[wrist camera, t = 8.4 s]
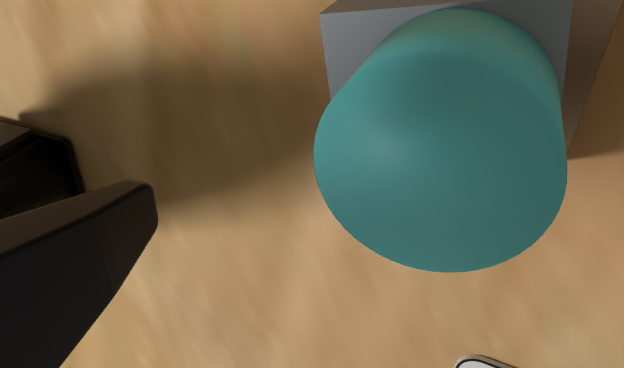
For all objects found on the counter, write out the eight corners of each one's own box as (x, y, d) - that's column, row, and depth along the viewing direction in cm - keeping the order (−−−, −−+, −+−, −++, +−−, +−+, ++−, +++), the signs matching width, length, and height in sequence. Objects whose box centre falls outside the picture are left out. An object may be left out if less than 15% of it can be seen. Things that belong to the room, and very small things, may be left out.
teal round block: (536, 202, 15) (536, 294, 12) (358, 174, 16) (317, 247, 13) (582, 12, 12) (601, 65, 9) (361, 3, 14) (308, 44, 10)
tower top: (546, 170, 17) (549, 218, 15) (367, 163, 20) (345, 203, 17) (566, -29, 14) (573, -7, 12) (348, -8, 16) (318, 14, 14)
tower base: (548, 156, 20) (551, 195, 18) (359, 120, 22) (339, 151, 20) (624, -62, 16) (640, -48, 13) (377, -80, 18) (354, -70, 15)
